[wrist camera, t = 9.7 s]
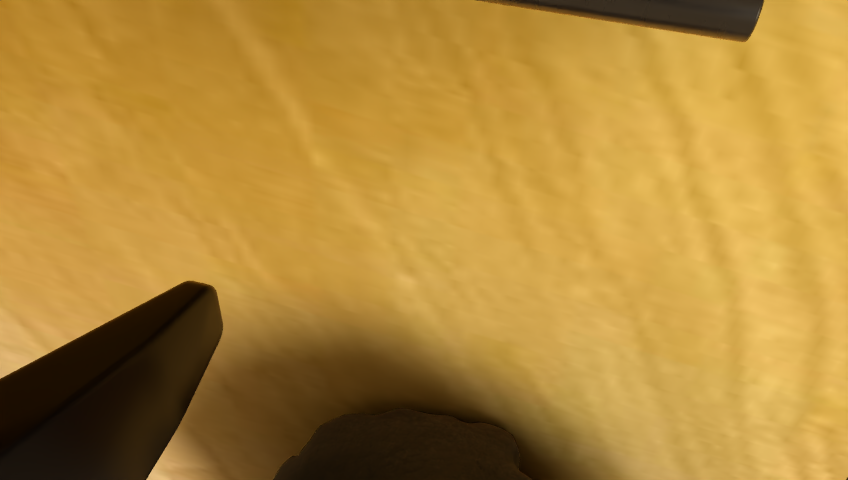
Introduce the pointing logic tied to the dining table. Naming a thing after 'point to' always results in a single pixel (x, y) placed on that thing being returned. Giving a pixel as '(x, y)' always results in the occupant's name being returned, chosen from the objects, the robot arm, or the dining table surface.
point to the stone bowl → (405, 450)
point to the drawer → (662, 14)
